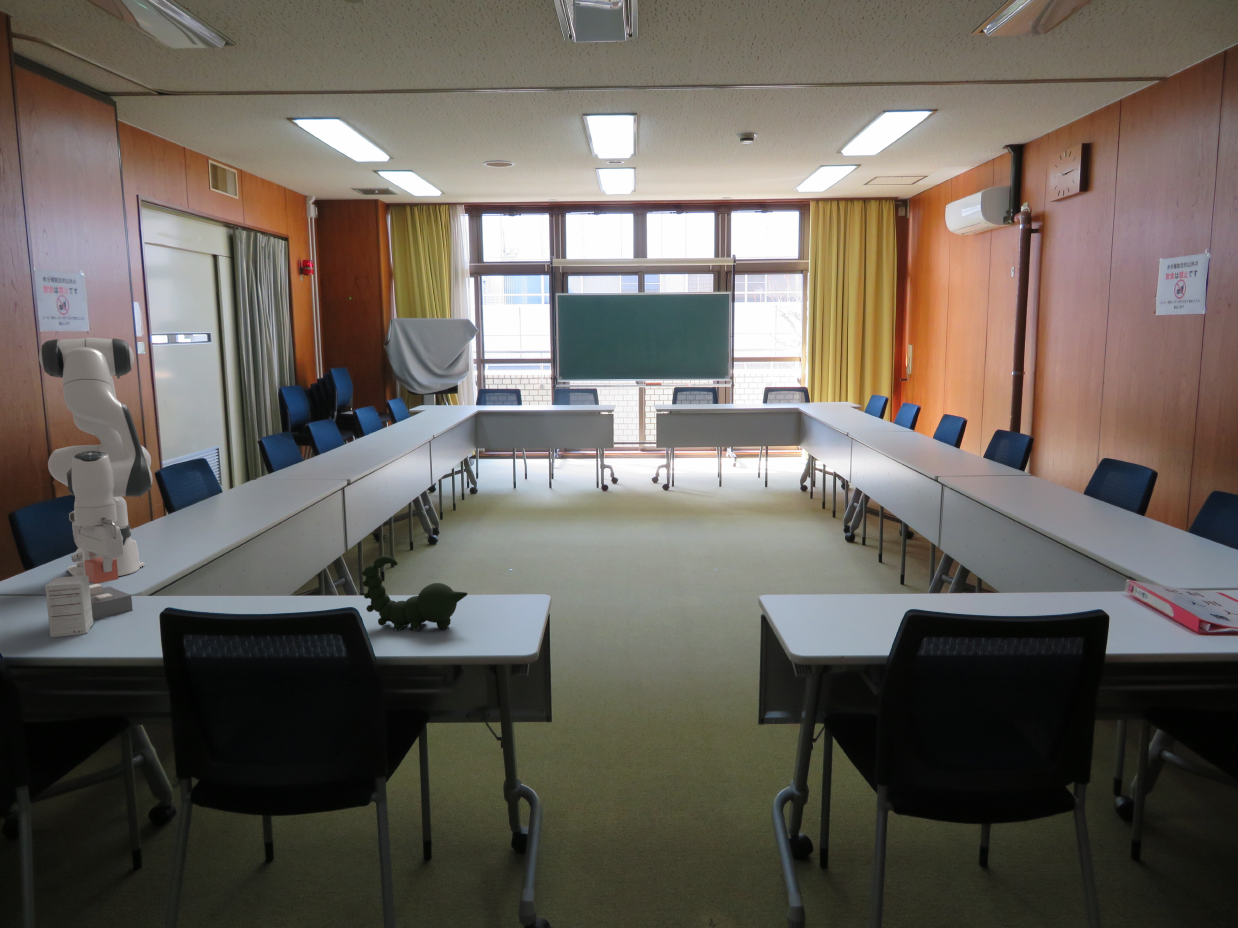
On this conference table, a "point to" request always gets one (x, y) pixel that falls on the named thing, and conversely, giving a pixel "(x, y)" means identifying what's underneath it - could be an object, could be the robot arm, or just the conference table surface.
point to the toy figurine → (409, 601)
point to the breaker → (95, 589)
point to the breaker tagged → (103, 596)
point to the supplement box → (69, 605)
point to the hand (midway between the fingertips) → (101, 569)
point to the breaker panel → (111, 603)
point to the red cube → (100, 571)
